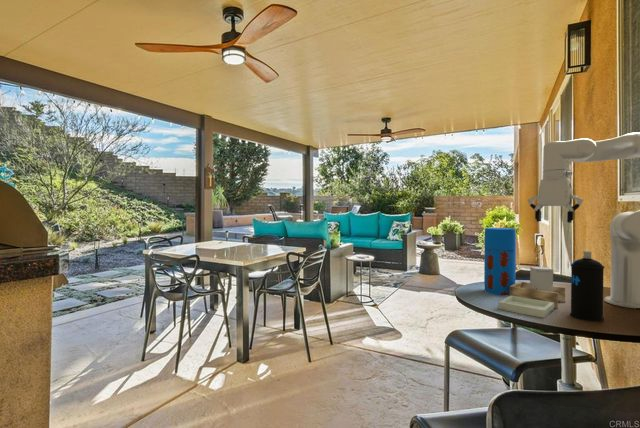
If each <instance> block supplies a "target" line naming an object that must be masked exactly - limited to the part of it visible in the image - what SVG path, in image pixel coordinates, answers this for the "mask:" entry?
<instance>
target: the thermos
mask: <svg viewBox="0 0 640 428" xmlns="http://www.w3.org/2000/svg"><path fill="white" fill-rule="evenodd" d="M516 236H517V233H516V229H515V228H511V227H510V228H508V227H486V228H484V258H483V259H484V265H483V266H484V267H483V268H484V274H483V275H484V276H483V277H484V279H483V280H484V281H483V284H484V292H485V291H486V292H485V293H487V294H490V295H494V294H495V295H494V296H503V295H509V286H511V285H513V284H515V283H516V262H517V261H516V258H517V257H516V256H517V255H516V254H517V253H516V251H517V250H516V248H517V237H516Z"/></svg>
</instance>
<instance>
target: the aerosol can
mask: <svg viewBox="0 0 640 428" xmlns="http://www.w3.org/2000/svg"><path fill="white" fill-rule="evenodd" d="M582 253H583V257H581V258H578V259H576V260H573V262H572V263H570V264H569V265H570V268H571V273H570V276H571V280H570V284H571V285H570V313H569V315H570V317H572V318H574V319H576V320H577V319H578V320H581V321H585V322H586V321H587V322H593V323H594V322H596V323H597V322H604V320H605V318H604V271H605V270H604V269H605V268H606V267H605V266H604V265H603V264H602V263H601V262H599V261H598V260H596V259H593V258H592V251H589V250H588V251H587V250H585V251H583V252H582Z"/></svg>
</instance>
